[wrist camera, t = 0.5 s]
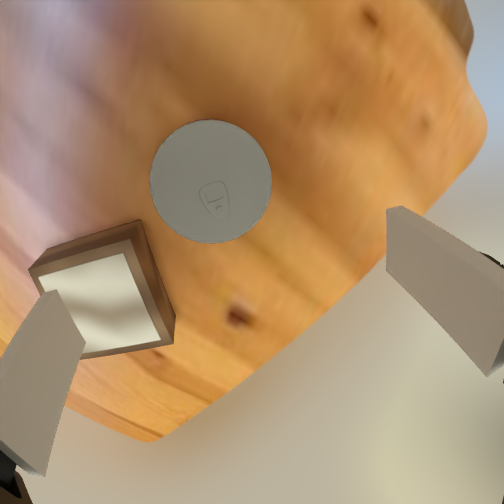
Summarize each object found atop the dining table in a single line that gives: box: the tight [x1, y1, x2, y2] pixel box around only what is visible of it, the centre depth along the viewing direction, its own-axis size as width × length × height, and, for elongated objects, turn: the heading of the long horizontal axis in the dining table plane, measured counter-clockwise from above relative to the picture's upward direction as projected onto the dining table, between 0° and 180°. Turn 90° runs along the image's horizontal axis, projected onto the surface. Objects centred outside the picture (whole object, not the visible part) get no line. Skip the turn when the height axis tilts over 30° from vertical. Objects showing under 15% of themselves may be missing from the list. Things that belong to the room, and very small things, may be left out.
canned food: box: [149, 119, 272, 244], centre depth 23 cm, size 8×8×11 cm
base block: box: [28, 220, 176, 360], centre depth 29 cm, size 12×12×5 cm
